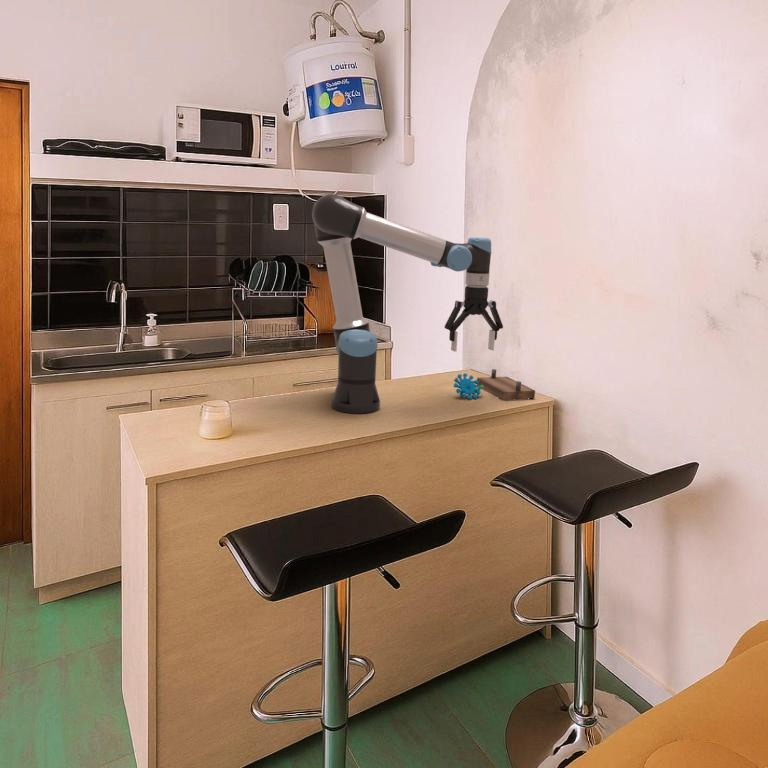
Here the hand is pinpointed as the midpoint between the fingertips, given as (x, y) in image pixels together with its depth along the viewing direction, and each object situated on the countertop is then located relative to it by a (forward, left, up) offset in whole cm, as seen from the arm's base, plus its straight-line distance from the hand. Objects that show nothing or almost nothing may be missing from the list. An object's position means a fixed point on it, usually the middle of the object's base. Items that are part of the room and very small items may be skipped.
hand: (472, 350), depth 224 cm
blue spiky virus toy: (0, 0, -17) cm, 17 cm away
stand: (+16, +4, -16) cm, 23 cm away
